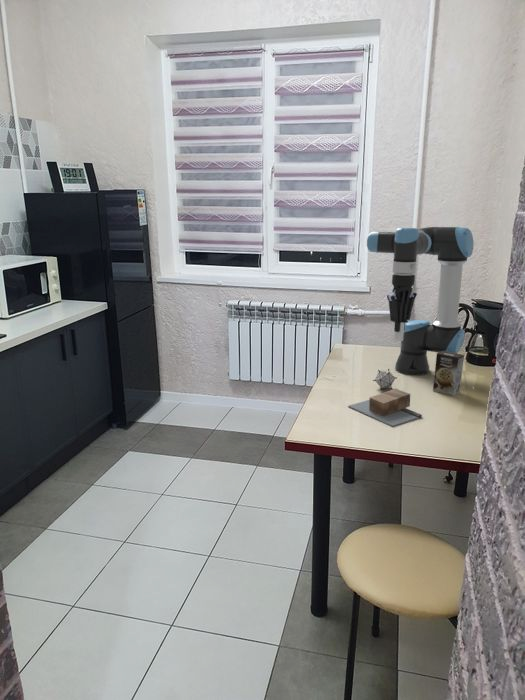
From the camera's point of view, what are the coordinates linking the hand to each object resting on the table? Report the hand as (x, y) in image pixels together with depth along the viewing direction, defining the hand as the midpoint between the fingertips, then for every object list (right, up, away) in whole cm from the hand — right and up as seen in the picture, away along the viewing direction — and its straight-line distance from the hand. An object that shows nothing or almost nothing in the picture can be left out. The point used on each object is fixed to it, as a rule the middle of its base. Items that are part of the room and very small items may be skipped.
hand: (398, 340), depth 184 cm
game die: (+2, -20, +31) cm, 36 cm away
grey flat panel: (-4, -26, +6) cm, 27 cm away
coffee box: (+27, -21, +27) cm, 43 cm away
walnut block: (+4, -21, +10) cm, 24 cm away
